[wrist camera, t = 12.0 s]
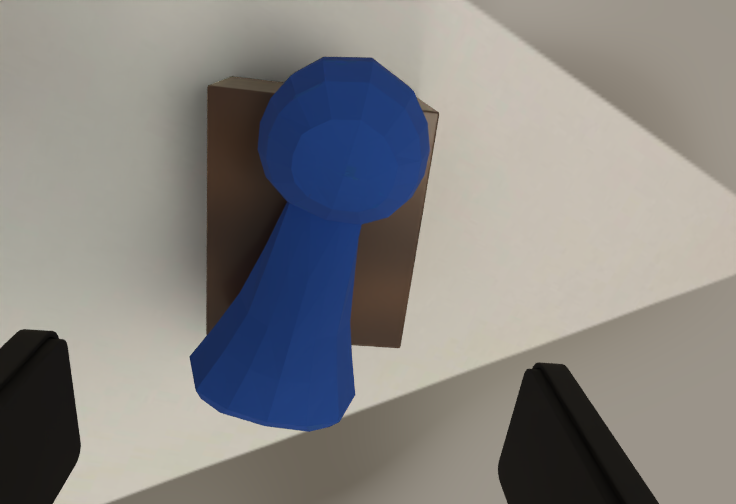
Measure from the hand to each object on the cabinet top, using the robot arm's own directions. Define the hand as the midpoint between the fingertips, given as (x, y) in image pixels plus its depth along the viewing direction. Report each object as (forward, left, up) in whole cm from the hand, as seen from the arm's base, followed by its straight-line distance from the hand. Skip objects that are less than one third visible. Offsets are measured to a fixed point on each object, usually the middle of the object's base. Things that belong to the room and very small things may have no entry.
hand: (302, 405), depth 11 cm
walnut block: (+1, 0, -17) cm, 17 cm away
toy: (+1, 0, -12) cm, 12 cm away
